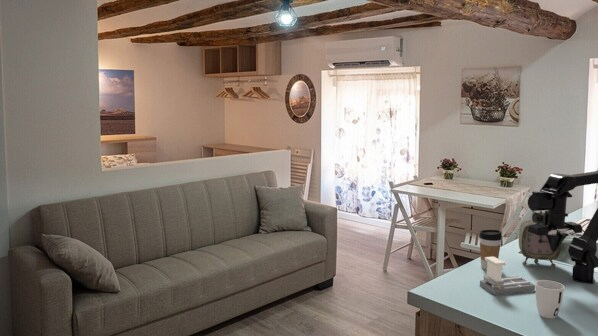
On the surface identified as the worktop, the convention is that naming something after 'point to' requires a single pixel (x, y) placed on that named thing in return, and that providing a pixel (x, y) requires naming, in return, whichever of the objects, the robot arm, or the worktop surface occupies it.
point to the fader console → (508, 286)
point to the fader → (494, 270)
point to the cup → (549, 298)
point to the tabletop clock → (535, 244)
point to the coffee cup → (489, 245)
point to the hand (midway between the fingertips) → (553, 251)
